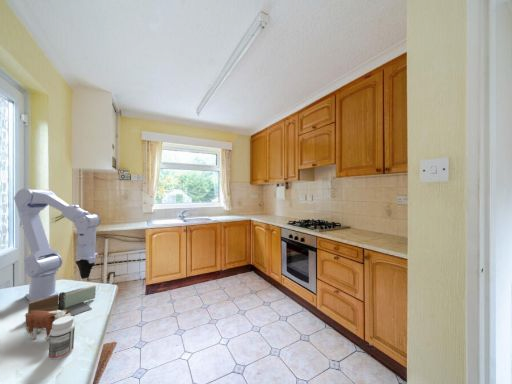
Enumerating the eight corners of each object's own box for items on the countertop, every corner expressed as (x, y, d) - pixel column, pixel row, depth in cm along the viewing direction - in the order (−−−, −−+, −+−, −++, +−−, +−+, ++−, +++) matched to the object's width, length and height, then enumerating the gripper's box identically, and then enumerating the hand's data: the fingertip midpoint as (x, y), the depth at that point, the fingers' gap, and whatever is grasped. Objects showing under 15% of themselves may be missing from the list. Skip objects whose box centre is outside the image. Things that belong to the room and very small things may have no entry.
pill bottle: (59, 346, 55) (61, 314, 55) (78, 345, 55) (79, 314, 55) (42, 360, 50) (44, 325, 50) (63, 359, 50) (65, 324, 51)
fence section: (27, 319, 66) (28, 301, 66) (62, 307, 73) (63, 291, 74) (28, 320, 65) (29, 302, 66) (64, 309, 73) (65, 292, 73)
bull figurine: (56, 346, 55) (58, 315, 55) (19, 339, 57) (21, 309, 58) (73, 336, 59) (75, 307, 59) (38, 329, 62) (40, 302, 62)
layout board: (25, 314, 69) (25, 313, 69) (78, 298, 81) (78, 297, 81) (35, 329, 62) (35, 327, 62) (91, 309, 73) (91, 308, 73)
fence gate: (64, 307, 73) (65, 293, 73) (63, 306, 73) (64, 292, 74) (95, 298, 80) (95, 285, 80) (93, 297, 81) (94, 284, 81)
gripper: (105, 244, 82) (104, 278, 82) (91, 240, 90) (90, 271, 90) (83, 247, 76) (81, 284, 76) (71, 243, 84) (69, 276, 84)
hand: (84, 277), depth 82 cm, fingers closed
